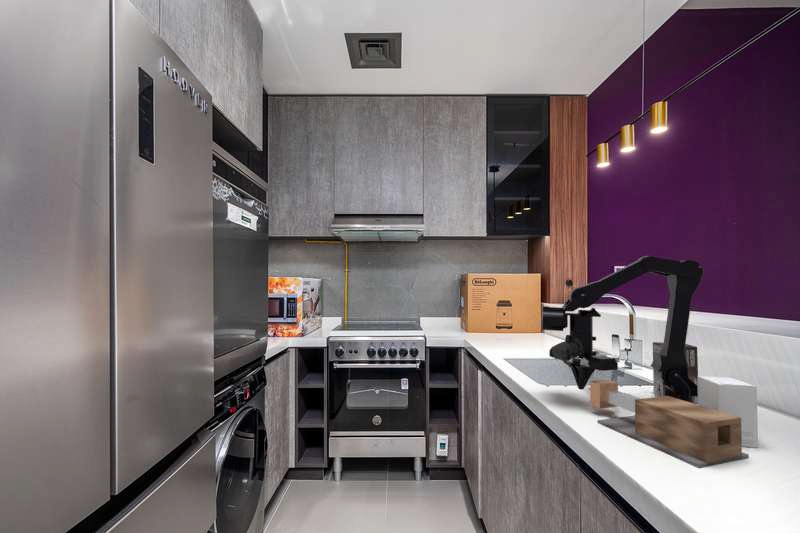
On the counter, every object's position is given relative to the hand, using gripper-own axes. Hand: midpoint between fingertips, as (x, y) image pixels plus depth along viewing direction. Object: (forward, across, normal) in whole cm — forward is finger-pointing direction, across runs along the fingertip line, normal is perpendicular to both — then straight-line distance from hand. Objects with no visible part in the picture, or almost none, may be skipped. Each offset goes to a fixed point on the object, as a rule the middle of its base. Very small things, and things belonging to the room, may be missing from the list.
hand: (581, 389), depth 100 cm
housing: (+4, +23, 0) cm, 23 cm away
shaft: (+2, +16, 0) cm, 16 cm away
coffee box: (+4, +4, +31) cm, 32 cm away
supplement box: (+4, +27, +13) cm, 30 cm away
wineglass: (+4, -8, +14) cm, 17 cm away
